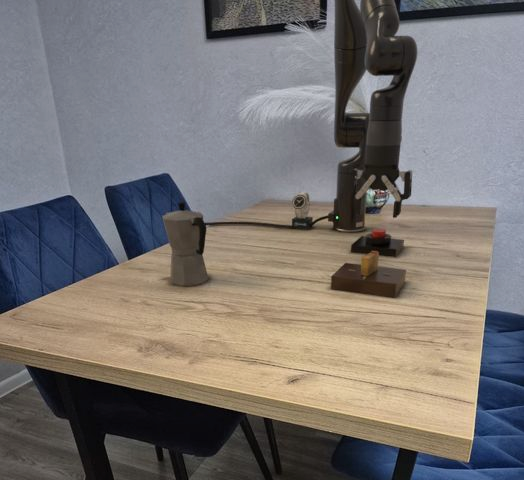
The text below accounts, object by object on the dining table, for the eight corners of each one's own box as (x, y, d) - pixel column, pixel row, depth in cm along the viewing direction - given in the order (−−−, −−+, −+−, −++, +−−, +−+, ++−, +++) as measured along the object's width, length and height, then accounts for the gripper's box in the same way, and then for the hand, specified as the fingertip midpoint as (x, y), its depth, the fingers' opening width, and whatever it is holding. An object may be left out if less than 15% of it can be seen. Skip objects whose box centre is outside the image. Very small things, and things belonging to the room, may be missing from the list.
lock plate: (330, 288, 104) (331, 275, 102) (344, 275, 112) (345, 262, 110) (394, 297, 98) (396, 283, 97) (404, 282, 106) (406, 268, 104)
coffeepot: (158, 277, 114) (147, 201, 106) (191, 269, 119) (184, 195, 111) (192, 294, 103) (183, 210, 95) (227, 284, 108) (221, 204, 100)
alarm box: (350, 252, 127) (351, 238, 125) (360, 243, 135) (361, 229, 133) (395, 257, 123) (397, 242, 121) (403, 247, 130) (405, 233, 129)
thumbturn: (367, 276, 101) (368, 257, 99) (360, 274, 102) (361, 255, 100) (377, 270, 105) (379, 251, 103) (371, 268, 106) (372, 250, 104)
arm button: (370, 237, 126) (370, 231, 126) (373, 234, 129) (374, 228, 128) (383, 239, 125) (384, 232, 124) (386, 235, 128) (387, 229, 127)
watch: (289, 230, 152) (289, 194, 147) (298, 224, 158) (298, 190, 153) (306, 231, 150) (306, 195, 145) (314, 225, 156) (315, 191, 151)
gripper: (347, 143, 105) (343, 217, 113) (412, 144, 100) (404, 221, 107) (357, 140, 111) (353, 210, 119) (419, 141, 105) (410, 214, 113)
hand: (377, 215), depth 113 cm, fingers open, 8 cm apart
